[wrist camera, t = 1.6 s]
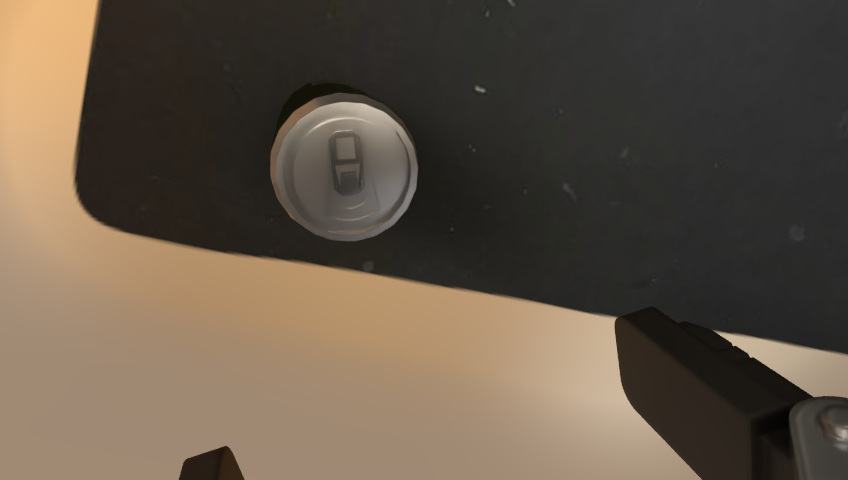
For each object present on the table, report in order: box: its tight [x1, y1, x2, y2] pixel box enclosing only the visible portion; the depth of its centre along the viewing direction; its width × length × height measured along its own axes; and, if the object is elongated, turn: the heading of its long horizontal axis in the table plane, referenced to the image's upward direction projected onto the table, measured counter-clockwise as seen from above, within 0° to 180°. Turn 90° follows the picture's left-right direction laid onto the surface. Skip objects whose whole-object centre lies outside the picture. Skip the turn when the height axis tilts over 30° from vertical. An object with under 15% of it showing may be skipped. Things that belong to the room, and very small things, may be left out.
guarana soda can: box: [270, 80, 418, 241], centre depth 25 cm, size 5×5×12 cm
